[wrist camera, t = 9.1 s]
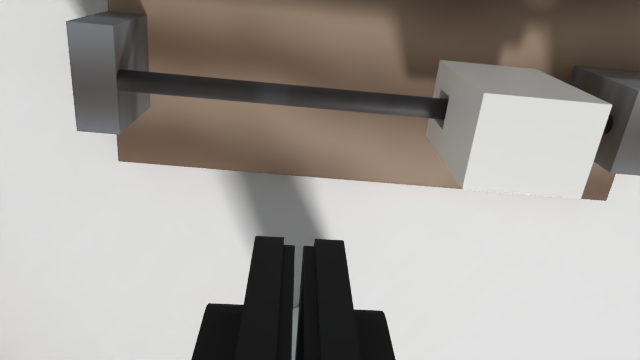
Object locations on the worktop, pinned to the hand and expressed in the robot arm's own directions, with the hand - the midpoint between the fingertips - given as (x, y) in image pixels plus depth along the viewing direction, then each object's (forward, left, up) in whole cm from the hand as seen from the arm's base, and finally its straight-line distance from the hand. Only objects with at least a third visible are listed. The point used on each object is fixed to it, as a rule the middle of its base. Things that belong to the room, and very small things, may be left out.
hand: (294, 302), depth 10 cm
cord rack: (0, +4, -21) cm, 22 cm away
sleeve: (0, +9, -17) cm, 20 cm away
